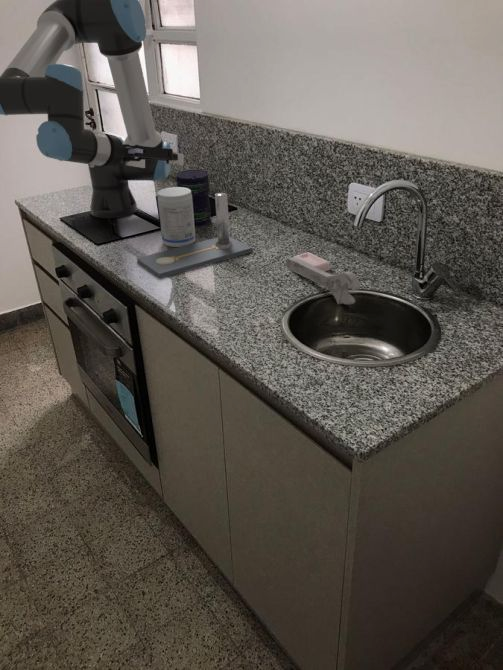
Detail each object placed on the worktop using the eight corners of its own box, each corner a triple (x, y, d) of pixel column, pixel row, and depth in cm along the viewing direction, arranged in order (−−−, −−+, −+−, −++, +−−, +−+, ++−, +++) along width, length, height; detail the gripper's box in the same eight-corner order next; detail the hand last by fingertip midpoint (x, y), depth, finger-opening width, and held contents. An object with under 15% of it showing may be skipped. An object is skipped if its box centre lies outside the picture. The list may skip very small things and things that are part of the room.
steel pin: (212, 244, 153) (208, 194, 146) (226, 241, 155) (223, 191, 148) (221, 249, 150) (218, 198, 143) (235, 245, 152) (233, 194, 145)
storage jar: (177, 218, 177) (172, 171, 169) (206, 215, 179) (203, 168, 172) (183, 229, 169) (179, 179, 161) (214, 224, 171) (212, 176, 164)
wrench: (292, 276, 143) (360, 311, 117) (286, 278, 142) (353, 313, 117) (290, 246, 140) (360, 275, 114) (284, 247, 139) (352, 277, 114)
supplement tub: (165, 236, 163) (159, 186, 156) (197, 236, 163) (193, 185, 156) (160, 248, 155) (154, 196, 147) (194, 248, 155) (189, 195, 147)
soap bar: (314, 276, 137) (314, 266, 135) (292, 264, 143) (292, 255, 142) (331, 270, 139) (331, 261, 138) (308, 259, 146) (308, 250, 144)
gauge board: (137, 262, 146) (136, 257, 146) (226, 239, 160) (226, 234, 159) (159, 278, 137) (159, 273, 136) (252, 251, 151) (252, 247, 150)
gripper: (66, 169, 137) (129, 178, 155) (140, 162, 124) (199, 173, 141) (65, 137, 136) (128, 150, 153) (139, 127, 122) (199, 142, 140)
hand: (162, 161), depth 147 cm, fingers open, 13 cm apart
